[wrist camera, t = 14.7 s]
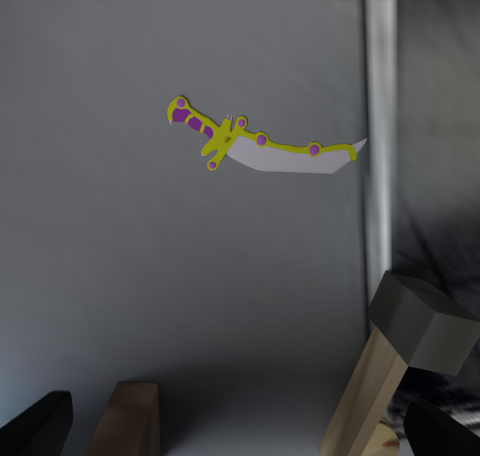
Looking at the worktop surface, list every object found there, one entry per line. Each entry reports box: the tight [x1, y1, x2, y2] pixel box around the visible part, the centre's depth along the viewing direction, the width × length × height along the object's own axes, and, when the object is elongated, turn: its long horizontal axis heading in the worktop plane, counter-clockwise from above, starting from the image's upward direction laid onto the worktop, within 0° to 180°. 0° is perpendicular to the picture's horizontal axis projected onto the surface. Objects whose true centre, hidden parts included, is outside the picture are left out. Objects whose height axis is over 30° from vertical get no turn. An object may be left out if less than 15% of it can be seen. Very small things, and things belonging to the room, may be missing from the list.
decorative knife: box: [167, 96, 368, 174], centre depth 17 cm, size 12×1×5 cm
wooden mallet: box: [318, 271, 480, 456], centre depth 20 cm, size 3×17×5 cm, turn 165°
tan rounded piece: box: [361, 417, 400, 456], centre depth 23 cm, size 4×4×2 cm
